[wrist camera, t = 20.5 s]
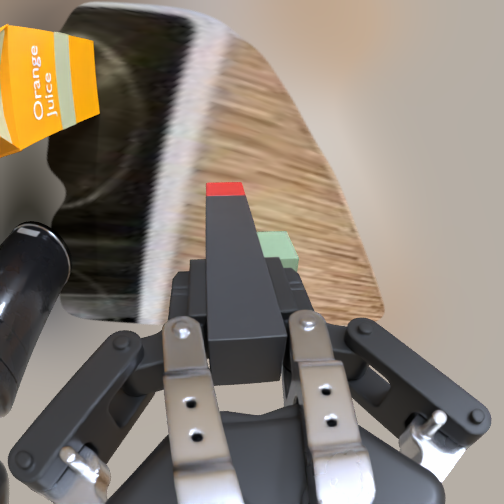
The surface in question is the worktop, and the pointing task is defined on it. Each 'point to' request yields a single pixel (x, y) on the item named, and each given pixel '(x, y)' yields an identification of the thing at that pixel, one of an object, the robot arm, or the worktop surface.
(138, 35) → the worktop surface
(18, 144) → the orange juice
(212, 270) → the marker
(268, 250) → the block
